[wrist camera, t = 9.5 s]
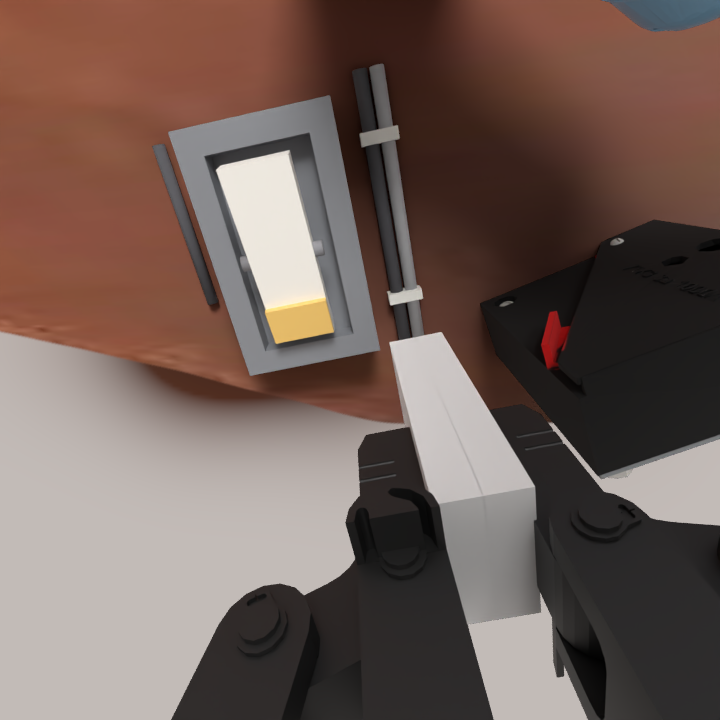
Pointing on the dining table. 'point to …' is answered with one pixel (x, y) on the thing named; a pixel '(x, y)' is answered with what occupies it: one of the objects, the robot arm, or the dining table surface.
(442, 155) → the dining table surface
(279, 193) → the rocker
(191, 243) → the dark grey thin bar
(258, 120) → the breaker housing
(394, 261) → the dressed cords
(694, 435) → the electrical component
